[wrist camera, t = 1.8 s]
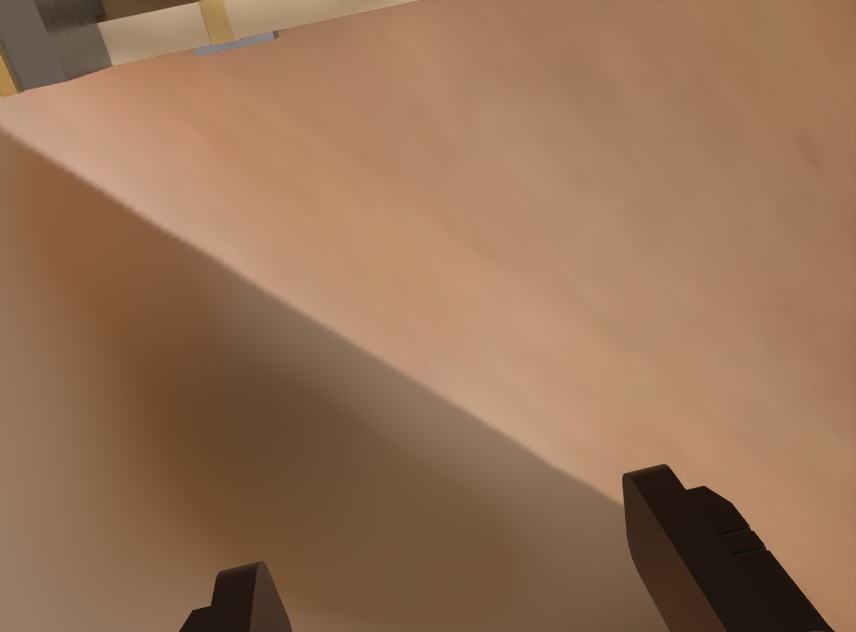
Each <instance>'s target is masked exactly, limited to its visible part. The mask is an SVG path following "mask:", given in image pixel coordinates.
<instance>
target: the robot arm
mask: <svg viewBox="0 0 856 632" xmlns="http://www.w3.org/2000/svg"><path fill="white" fill-rule="evenodd" d="M622 484H623V496H624V508H625V520H626V533H627V540H628V545H629V549H630V553H631V556H632V559H633V561H634V564H635V567H636V569H637V571H638V573H639V575H640V577H641V579H642V580H643V582H644V584H645V586H646V588H647V590H648V592H649V594H650V595H651V597H652V599H653V601H654V603H655V605H656V607H657V609H658V610H659V612H660V614H661V616H662V618H663V620H664V621H665V624H666V625H667V627H668V629H669V631H670V632H835V631H833V629H832V628H831V627H830V626H829V625H828V624H827V623H826V622H825V620H824V619H823V618H822V617H821V615H820V614H819V613H818V611H817V610H816V609H815V608H814V606H813V605H812V604H811V603H810V601H809V600H808V599H807V598H806V596H805V595H804V594H803V593H802V591H801V590H800V589H799V588H798V586H797V585H796V584H795V582H794V581H793V580H792V579H791V577H790V576H789V575H788V574H787V572H786V571H785V570H784V569H783V567H782V566H781V565H780V564H779V562H778V561H777V560H776V558H775V557H774V556H773V555H772V553H771V552H770V551H769V550H768V551H767V550H766V547H765V545H764V543H763V542H762V541H761V540H760V538H759V537H758V536H757V534H756V533H755V532H754V531H751V529H750V526H749V524H748V523H747V522H746V521H745V519H744V518H743V517H742V516H741V514H740V513H739V512H738V510H737V509H736V508H735V507H734V505H733V504H732V503H731V502H729V501H728V500H726V499H724V498H723V497H721V496H720V495H718V494H717V493H715V492H713V491H712V490H710V489H709V488H707V487H705V486H701V487H697V488H693V489H689V490H686V489H685V488H684V486H683V485H682V484H681V482H680V481H679V480H678V478H677V477H676V475H675V474H674V473H673V471H672V470H671V469H670V467H669V466H667V465H666V464H661V465H657V466H653V467H649V468H645V469H641V470H636V471H632V472H628V473H625V474H623V478H622ZM179 632H292V629H291V625H290V621H289V619H288V616H287V613H286V611H285V609H284V606H283V604H282V601H281V599H280V597H279V594H278V592H277V589H276V587H275V584H274V582H273V579H272V577H271V575H270V572H269V570H268V568H267V566H266V564H265V563H264V562H263V561H260V562H256V563H251V564H248V565H243V566H239V567H236V568H231V569H227V570H223V571H220V572H219V573H218V575H217V577H216V582H215V587H214V592H213V597H212V602H211V606H208V607H204V608H200V609H196V610H193V611H192V612H191V614H190V615H189V617H188V619H187V620H186V622H185V623H184V625H183V627H182V628H181V630H180V631H179Z"/></svg>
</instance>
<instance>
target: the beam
mask: <svg viewBox="0 0 856 632" xmlns="http://www.w3.org/2000/svg"><path fill="white" fill-rule="evenodd" d="M412 1H416V0H101V2H102V5H103V7H104V10H105V13H106V15H102V16H97V17H95V20H96V22H97V25H98V27H99V30H100V33H101V35H102V38H103V41H104V43H105V46H106V49H107V51H108V54H109V57H110V59H111V62H112V65H118V64H123V63H127V62H132V61H137V60H141V59H146V58H151V57H155V56H160V55H165V54H169V53H174V52H179V51H183V50H188V49H193V48H194V51H195V54H196V57H197V56H202V55H207V54H211V53H216V52H220V51H225V50H230V49H234V48H239V47H244V46H248V45H253V44H258V43H262V42H267V41H272V40H275V39H276V38H277V37H279V36H278V32H277V30H281V29H286V28H290V27H295V26H300V25H304V24H309V23H314V22H318V21H323V20H328V19H332V18H337V17H342V16H346V15H351V14H356V13H360V12H365V11H370V10H374V9H379V8H384V7H388V6H393V5H398V4H402V3H407V2H412Z"/></svg>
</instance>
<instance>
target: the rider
mask: <svg viewBox="0 0 856 632" xmlns="http://www.w3.org/2000/svg"><path fill="white" fill-rule="evenodd" d="M102 15H106V13H105V10H104V7H103V5H102V2H101V0H0V96H1V97H5V96H9V95H14V94H19V93H22V92H25V91H24V90H28V89H33V88H38V87H42V86H47V85H52V84H56V83H61V82H66V81H69V80H72V79H75V78H78V77H81V76H84V75H87V74H90V73H93V72H96V71H99V70H102V69H105V68H108V67H111V66H113V65H112V62H111V59H110V57H109V54H108V51H107V49H106V46H105V43H104V41H103V38H102V35H101V33H100V30H99V27H98V25H97V22H96V20H95V17H97V16H102Z"/></svg>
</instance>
